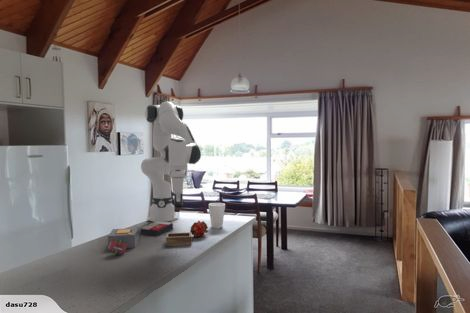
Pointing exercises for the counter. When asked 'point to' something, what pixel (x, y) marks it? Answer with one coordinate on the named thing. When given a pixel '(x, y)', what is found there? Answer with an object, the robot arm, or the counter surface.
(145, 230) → the calculator
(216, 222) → the foam cup
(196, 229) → the dragon fruit
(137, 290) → the counter surface
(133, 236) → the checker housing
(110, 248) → the geometric puzzle
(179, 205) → the battery cell
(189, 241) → the box
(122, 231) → the button
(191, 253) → the counter surface
